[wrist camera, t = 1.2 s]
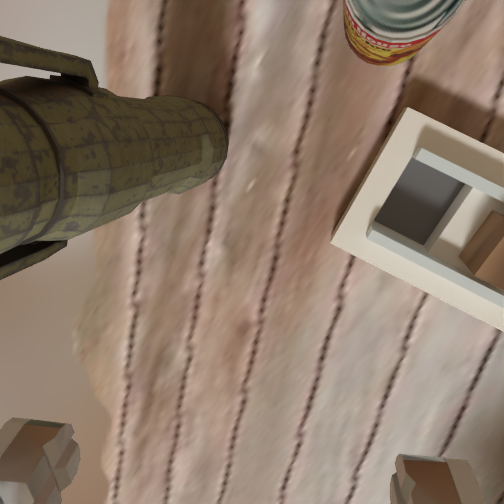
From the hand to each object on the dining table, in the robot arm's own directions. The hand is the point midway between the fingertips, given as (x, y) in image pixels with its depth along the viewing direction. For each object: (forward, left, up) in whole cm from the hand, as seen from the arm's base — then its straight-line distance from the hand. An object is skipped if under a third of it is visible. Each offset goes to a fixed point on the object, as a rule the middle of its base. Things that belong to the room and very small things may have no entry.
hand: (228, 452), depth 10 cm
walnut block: (-16, -4, -31) cm, 36 cm away
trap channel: (-15, -4, -34) cm, 38 cm away
